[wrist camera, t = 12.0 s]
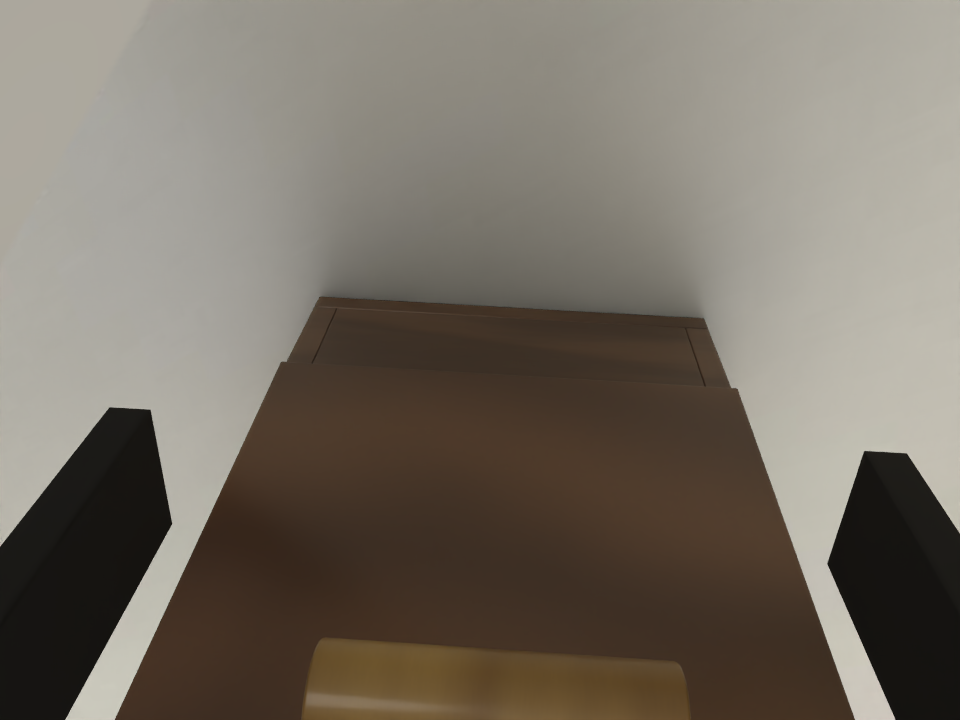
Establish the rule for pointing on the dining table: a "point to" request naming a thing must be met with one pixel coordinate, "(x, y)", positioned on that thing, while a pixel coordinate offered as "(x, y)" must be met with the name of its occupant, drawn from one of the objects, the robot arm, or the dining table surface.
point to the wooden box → (510, 342)
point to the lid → (491, 560)
